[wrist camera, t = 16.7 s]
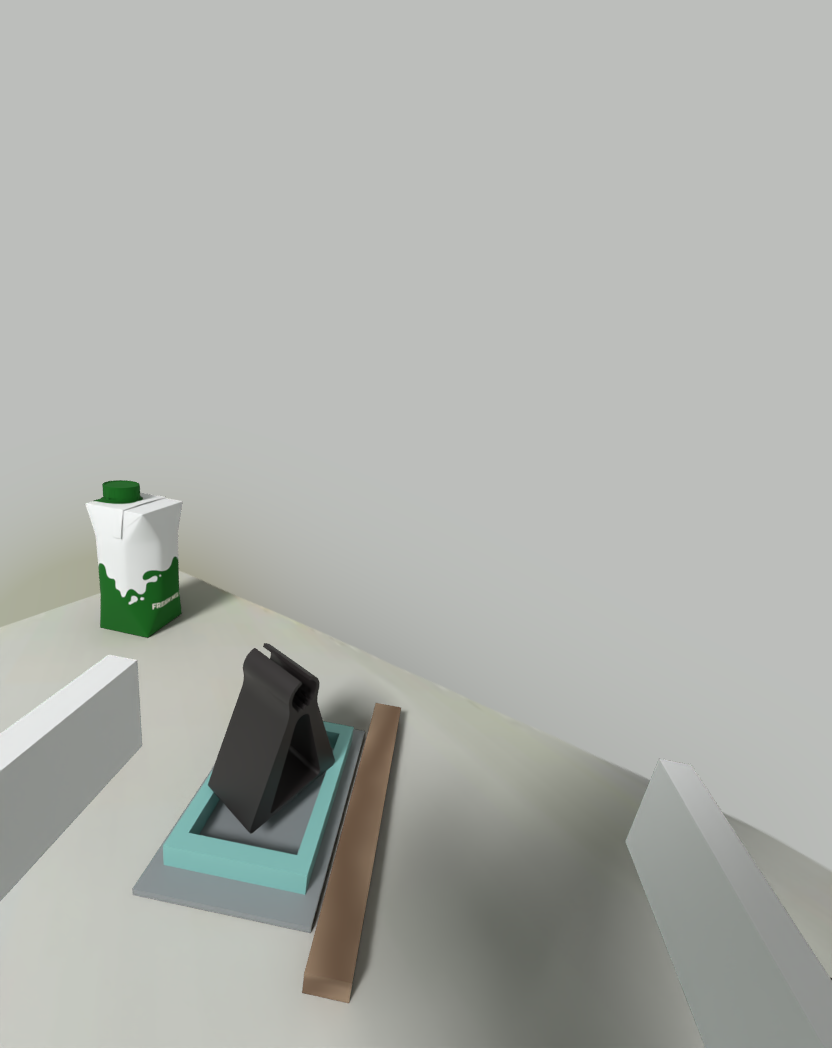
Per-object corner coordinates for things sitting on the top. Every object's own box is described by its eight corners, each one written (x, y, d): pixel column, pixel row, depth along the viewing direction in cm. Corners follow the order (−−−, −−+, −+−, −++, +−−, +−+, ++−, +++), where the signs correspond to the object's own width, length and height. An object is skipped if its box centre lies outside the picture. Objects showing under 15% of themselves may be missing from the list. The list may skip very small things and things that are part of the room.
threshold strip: (398, 721, 49) (401, 707, 48) (348, 1003, 26) (351, 983, 25) (373, 716, 49) (375, 702, 48) (302, 992, 26) (304, 972, 26)
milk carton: (137, 601, 65) (131, 475, 59) (192, 612, 64) (190, 486, 58) (88, 630, 56) (74, 487, 51) (149, 643, 56) (143, 500, 50)
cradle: (364, 735, 46) (366, 716, 45) (310, 933, 29) (313, 907, 28) (251, 713, 47) (252, 694, 46) (132, 894, 30) (130, 868, 29)
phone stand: (294, 729, 42) (301, 626, 39) (335, 764, 39) (347, 655, 36) (207, 787, 35) (207, 668, 32) (248, 836, 32) (253, 709, 29)
